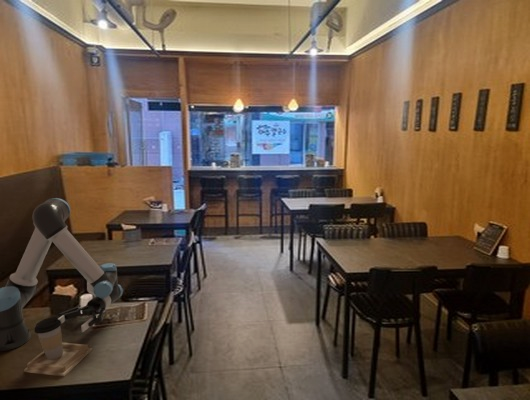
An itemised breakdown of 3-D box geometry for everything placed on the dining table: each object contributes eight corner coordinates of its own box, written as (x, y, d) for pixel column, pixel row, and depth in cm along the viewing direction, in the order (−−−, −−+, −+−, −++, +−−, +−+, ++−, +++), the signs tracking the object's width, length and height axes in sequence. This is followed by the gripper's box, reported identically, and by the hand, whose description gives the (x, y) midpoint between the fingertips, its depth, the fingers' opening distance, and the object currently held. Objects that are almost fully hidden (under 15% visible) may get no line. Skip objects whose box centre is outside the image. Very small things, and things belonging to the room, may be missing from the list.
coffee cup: (70, 354, 153) (63, 321, 149) (44, 366, 146) (36, 331, 143) (63, 345, 159) (56, 313, 156) (38, 356, 153) (30, 323, 150)
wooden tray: (24, 371, 145) (23, 364, 144) (55, 346, 161) (54, 340, 161) (64, 376, 142) (63, 369, 141) (91, 350, 158) (91, 343, 158)
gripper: (123, 313, 174) (95, 338, 154) (75, 309, 179) (42, 333, 158) (122, 298, 173) (93, 321, 152) (74, 294, 177) (39, 316, 157)
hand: (67, 327), depth 155 cm, fingers open, 13 cm apart
